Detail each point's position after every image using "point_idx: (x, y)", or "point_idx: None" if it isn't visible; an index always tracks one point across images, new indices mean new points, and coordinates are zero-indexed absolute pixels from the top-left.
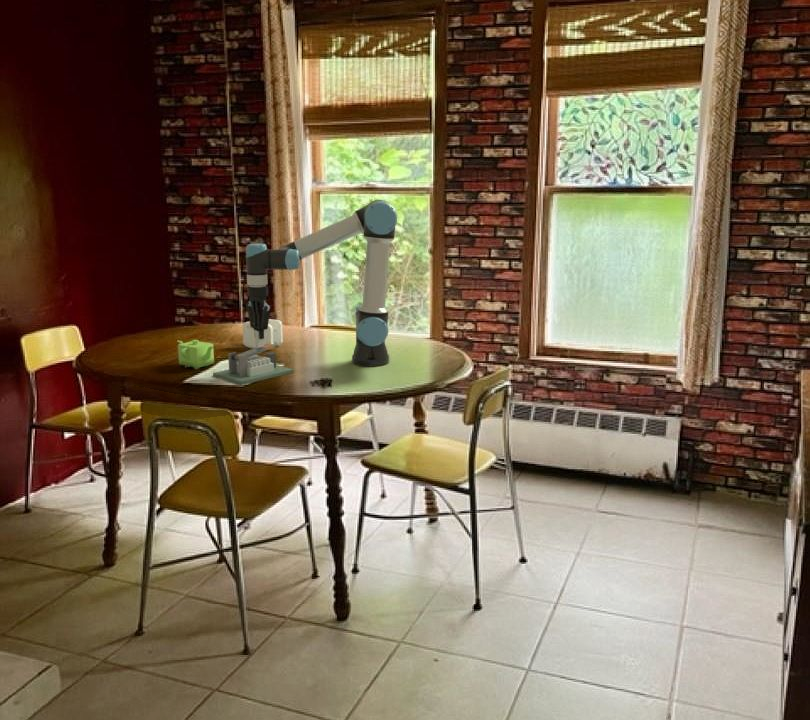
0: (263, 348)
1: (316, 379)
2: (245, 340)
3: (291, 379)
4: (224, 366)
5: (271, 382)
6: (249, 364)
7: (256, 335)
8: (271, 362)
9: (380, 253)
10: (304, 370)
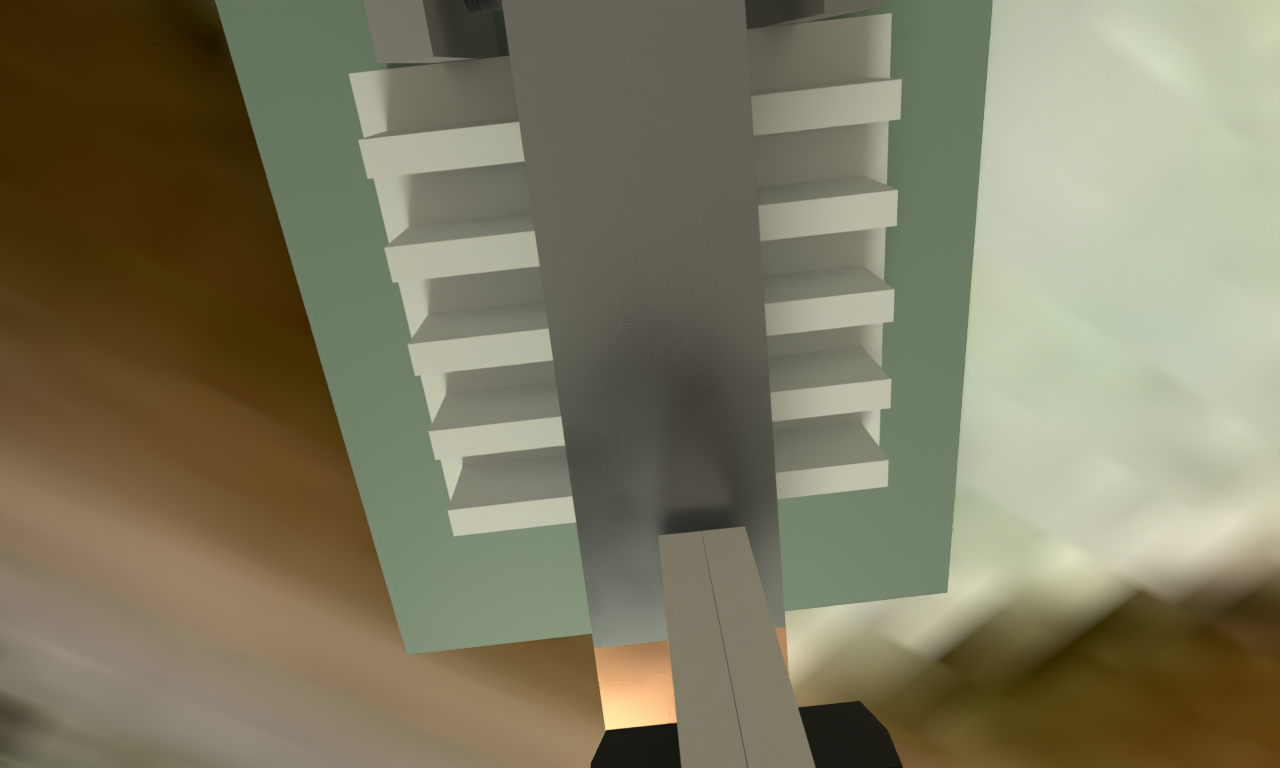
0: (589, 600)
1: (3, 662)
2: None
3: (131, 479)
4: (1272, 166)
5: (102, 223)
6: (442, 127)
7: (745, 764)
8: None
9: None
10: (425, 735)
